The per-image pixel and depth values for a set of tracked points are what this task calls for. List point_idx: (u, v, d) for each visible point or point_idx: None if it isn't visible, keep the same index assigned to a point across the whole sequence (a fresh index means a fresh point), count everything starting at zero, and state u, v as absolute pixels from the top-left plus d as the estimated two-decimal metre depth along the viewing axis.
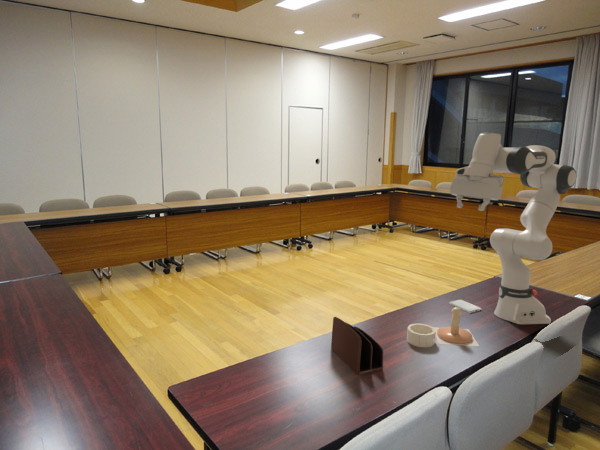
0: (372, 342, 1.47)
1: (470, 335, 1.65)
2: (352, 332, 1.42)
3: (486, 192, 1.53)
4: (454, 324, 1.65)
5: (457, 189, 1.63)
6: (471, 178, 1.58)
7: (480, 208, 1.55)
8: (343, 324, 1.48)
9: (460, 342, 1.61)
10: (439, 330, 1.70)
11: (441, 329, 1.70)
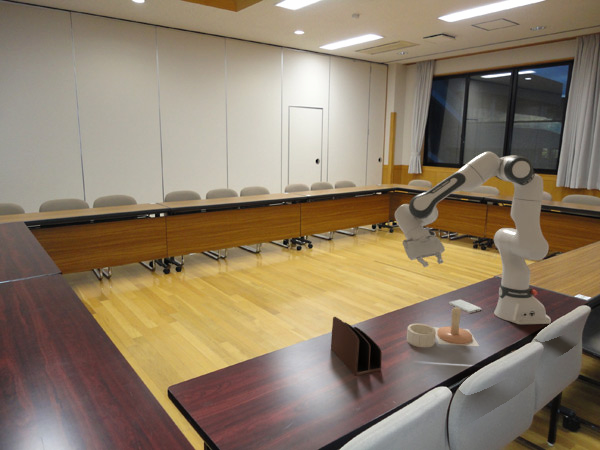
0: (371, 343, 1.46)
1: (470, 335, 1.65)
2: (350, 332, 1.42)
3: None
4: (454, 324, 1.65)
5: None
6: None
7: None
8: (342, 324, 1.48)
9: (460, 342, 1.61)
10: (439, 330, 1.70)
11: (441, 329, 1.70)
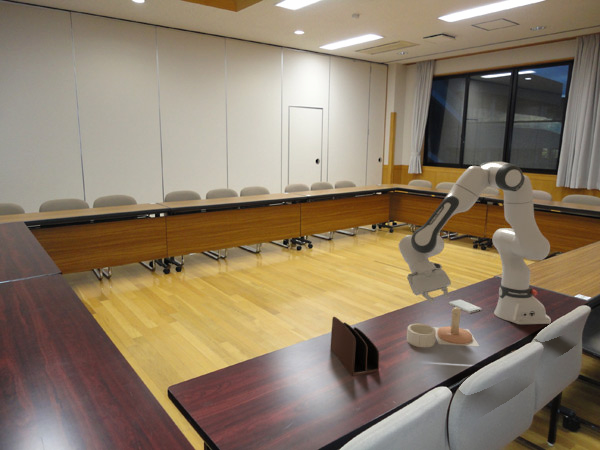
0: (369, 343, 1.46)
1: (470, 335, 1.65)
2: (348, 332, 1.42)
3: None
4: (454, 324, 1.65)
5: None
6: None
7: None
8: (340, 324, 1.48)
9: (460, 342, 1.61)
10: (439, 330, 1.70)
11: (441, 329, 1.70)
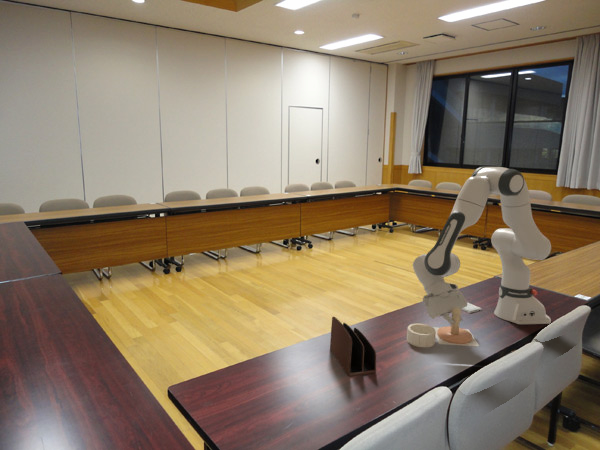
0: (367, 344, 1.45)
1: (470, 335, 1.65)
2: (345, 332, 1.41)
3: None
4: (454, 324, 1.65)
5: None
6: None
7: None
8: (339, 324, 1.48)
9: (460, 342, 1.61)
10: (439, 330, 1.70)
11: (441, 329, 1.70)
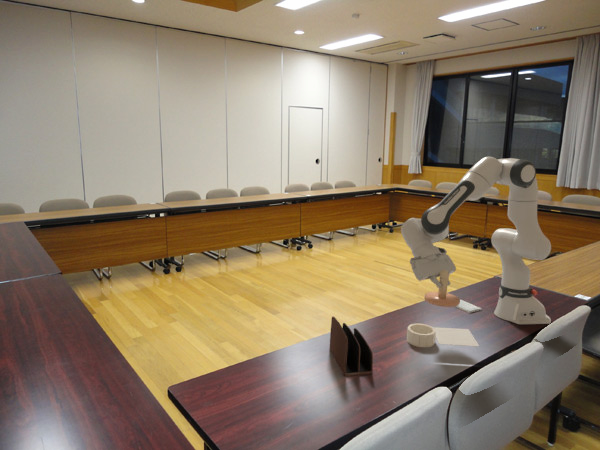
0: (365, 345, 1.45)
1: (458, 299, 1.60)
2: (342, 333, 1.41)
3: None
4: (442, 287, 1.60)
5: None
6: None
7: None
8: (337, 324, 1.48)
9: (447, 305, 1.56)
10: (426, 294, 1.64)
11: (428, 294, 1.65)
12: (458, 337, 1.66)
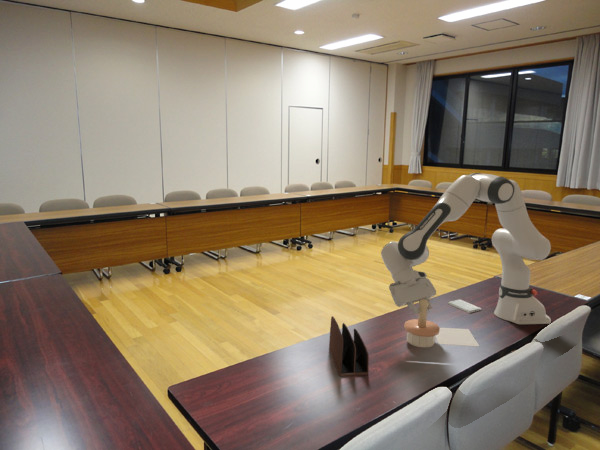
0: (362, 346, 1.44)
1: (438, 328, 1.60)
2: (338, 333, 1.41)
3: None
4: (421, 316, 1.60)
5: None
6: None
7: None
8: (335, 324, 1.48)
9: (426, 335, 1.56)
10: (406, 323, 1.64)
11: (409, 322, 1.65)
12: (458, 337, 1.66)
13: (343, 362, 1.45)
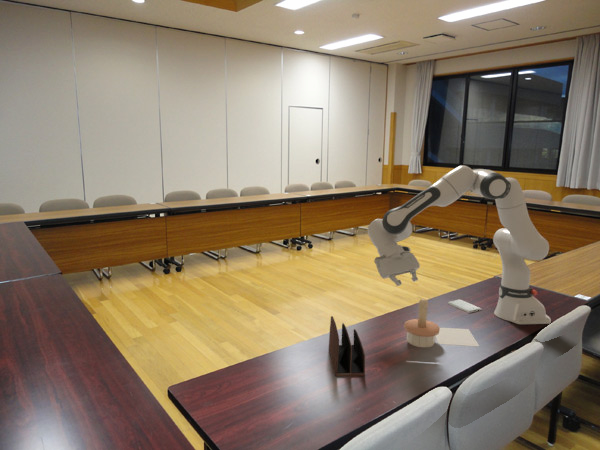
0: (360, 346, 1.44)
1: (438, 328, 1.60)
2: (335, 332, 1.41)
3: None
4: (421, 316, 1.60)
5: None
6: None
7: None
8: (333, 324, 1.48)
9: (426, 335, 1.56)
10: (406, 323, 1.64)
11: (409, 322, 1.65)
12: (458, 337, 1.66)
13: (340, 362, 1.45)
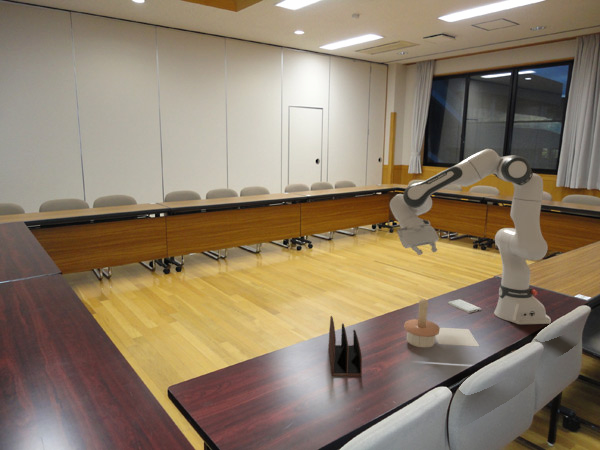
0: (357, 347, 1.43)
1: (438, 328, 1.60)
2: (333, 332, 1.42)
3: None
4: (421, 316, 1.60)
5: None
6: None
7: None
8: None
9: (426, 335, 1.56)
10: (406, 323, 1.64)
11: (409, 322, 1.65)
12: (458, 337, 1.66)
13: (338, 362, 1.45)
